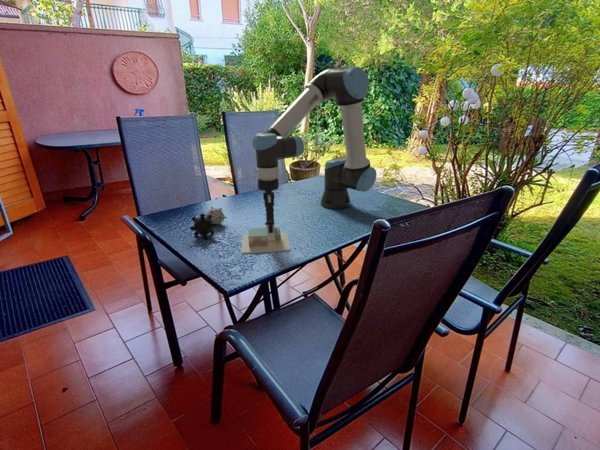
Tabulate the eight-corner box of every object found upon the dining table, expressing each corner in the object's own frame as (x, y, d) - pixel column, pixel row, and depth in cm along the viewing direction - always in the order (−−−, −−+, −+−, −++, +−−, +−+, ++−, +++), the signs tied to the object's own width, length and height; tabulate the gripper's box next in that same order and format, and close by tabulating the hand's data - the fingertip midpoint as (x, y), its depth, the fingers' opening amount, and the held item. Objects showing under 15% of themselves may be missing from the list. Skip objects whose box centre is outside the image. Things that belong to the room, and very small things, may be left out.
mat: (286, 233, 140) (286, 232, 140) (290, 250, 126) (290, 249, 125) (243, 236, 138) (242, 234, 138) (241, 253, 124) (241, 252, 123)
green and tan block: (279, 226, 134) (248, 228, 133) (280, 235, 127) (248, 236, 126) (279, 236, 136) (249, 238, 135) (280, 245, 129) (249, 247, 127)
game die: (221, 231, 152) (233, 214, 150) (211, 232, 144) (223, 213, 142) (208, 219, 154) (219, 201, 153) (196, 219, 146) (209, 200, 144)
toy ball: (220, 222, 145) (224, 224, 134) (204, 242, 144) (207, 246, 132) (199, 206, 142) (201, 208, 130) (183, 227, 140) (184, 230, 129)
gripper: (257, 171, 133) (260, 222, 141) (257, 187, 111) (261, 247, 119) (276, 170, 134) (278, 221, 142) (280, 186, 112) (282, 246, 120)
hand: (270, 233), depth 131 cm, fingers open, 11 cm apart
